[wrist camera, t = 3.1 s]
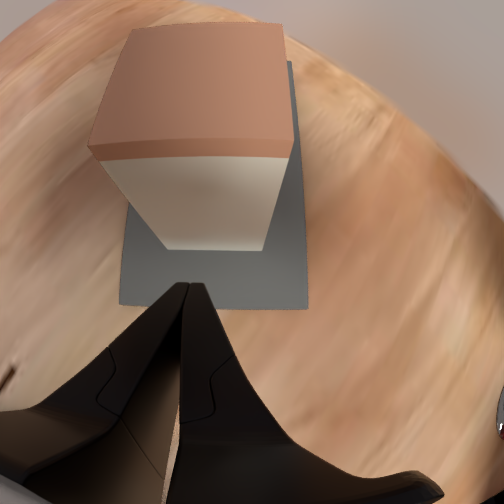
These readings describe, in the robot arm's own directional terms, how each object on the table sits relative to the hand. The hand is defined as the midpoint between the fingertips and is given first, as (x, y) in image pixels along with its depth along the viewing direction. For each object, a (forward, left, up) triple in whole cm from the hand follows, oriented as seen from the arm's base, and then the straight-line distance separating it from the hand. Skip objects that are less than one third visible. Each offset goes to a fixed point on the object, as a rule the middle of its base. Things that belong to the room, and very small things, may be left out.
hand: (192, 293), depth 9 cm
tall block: (+4, +3, -7) cm, 9 cm away
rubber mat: (+7, +6, -7) cm, 12 cm away
